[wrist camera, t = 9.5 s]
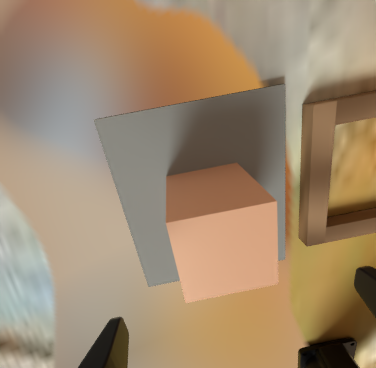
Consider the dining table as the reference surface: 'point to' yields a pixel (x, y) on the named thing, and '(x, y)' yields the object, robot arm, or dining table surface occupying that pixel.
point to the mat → (192, 160)
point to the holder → (329, 169)
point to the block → (221, 231)
